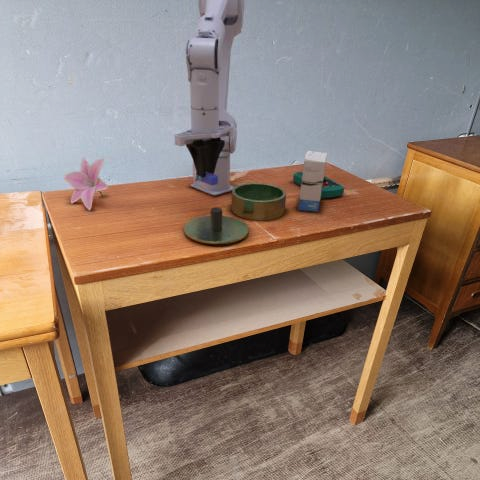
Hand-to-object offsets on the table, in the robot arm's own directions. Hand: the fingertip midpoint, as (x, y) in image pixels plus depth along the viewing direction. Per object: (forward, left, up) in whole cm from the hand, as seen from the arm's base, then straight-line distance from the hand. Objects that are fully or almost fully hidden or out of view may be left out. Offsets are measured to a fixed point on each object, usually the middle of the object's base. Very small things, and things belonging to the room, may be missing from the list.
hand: (205, 174), depth 98 cm
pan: (+7, +10, -8) cm, 15 cm away
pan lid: (+10, -6, -8) cm, 14 cm away
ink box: (+13, +22, -9) cm, 27 cm away
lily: (-22, -17, -9) cm, 29 cm away
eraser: (0, 0, -2) cm, 2 cm away
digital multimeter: (+7, +33, -8) cm, 35 cm away
